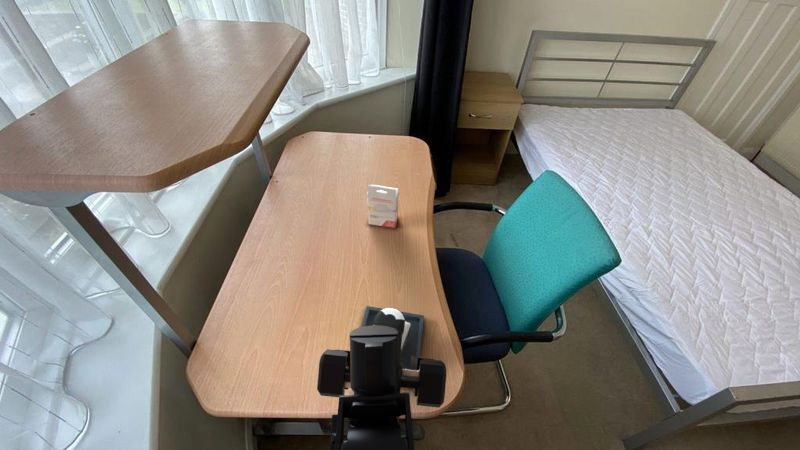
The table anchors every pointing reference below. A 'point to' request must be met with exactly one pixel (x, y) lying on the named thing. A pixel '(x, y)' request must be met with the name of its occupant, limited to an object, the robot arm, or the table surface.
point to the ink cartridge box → (382, 205)
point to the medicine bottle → (394, 323)
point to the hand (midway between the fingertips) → (385, 355)
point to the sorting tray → (414, 334)
